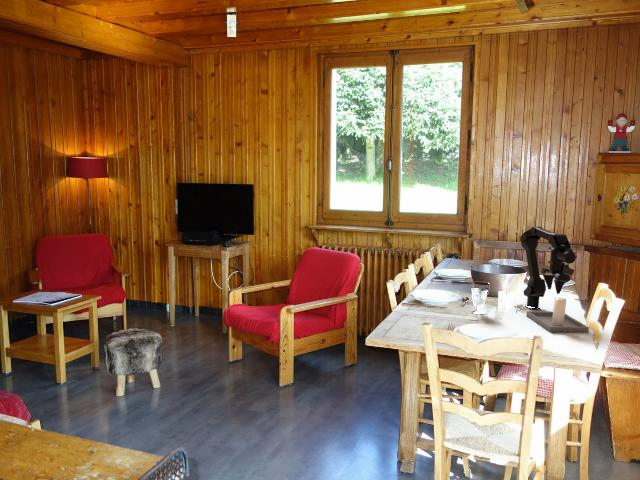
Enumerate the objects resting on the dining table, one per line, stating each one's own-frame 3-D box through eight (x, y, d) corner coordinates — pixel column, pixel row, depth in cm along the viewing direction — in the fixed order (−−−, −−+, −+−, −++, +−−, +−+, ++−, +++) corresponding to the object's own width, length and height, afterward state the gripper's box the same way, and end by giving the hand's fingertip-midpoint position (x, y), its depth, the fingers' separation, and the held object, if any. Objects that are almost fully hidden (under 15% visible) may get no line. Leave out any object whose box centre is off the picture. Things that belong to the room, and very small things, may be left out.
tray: (526, 316, 278) (526, 311, 278) (561, 316, 280) (562, 311, 279) (549, 332, 255) (550, 327, 254) (588, 332, 256) (588, 327, 256)
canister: (549, 325, 262) (552, 298, 260) (556, 324, 264) (559, 297, 262) (558, 328, 258) (561, 301, 255) (565, 327, 260) (568, 299, 258)
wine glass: (486, 316, 276) (489, 285, 274) (469, 313, 279) (472, 283, 276) (488, 311, 283) (490, 282, 281) (471, 309, 286) (474, 280, 284)
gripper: (582, 263, 265) (579, 296, 267) (563, 256, 283) (561, 287, 285) (559, 263, 264) (556, 296, 266) (542, 256, 283) (539, 287, 285)
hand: (553, 291), depth 276 cm, fingers open, 9 cm apart
